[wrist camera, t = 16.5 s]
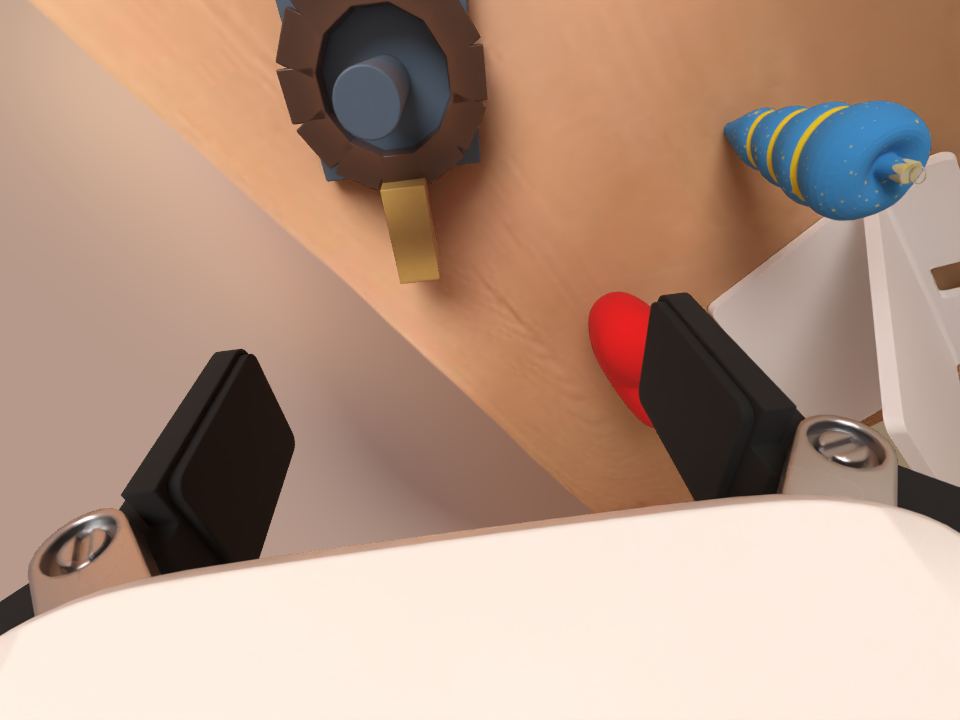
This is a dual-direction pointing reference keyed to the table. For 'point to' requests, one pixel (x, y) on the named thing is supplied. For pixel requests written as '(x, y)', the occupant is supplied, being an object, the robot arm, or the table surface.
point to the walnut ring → (400, 170)
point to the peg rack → (386, 79)
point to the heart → (621, 344)
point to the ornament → (836, 154)
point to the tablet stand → (866, 320)
